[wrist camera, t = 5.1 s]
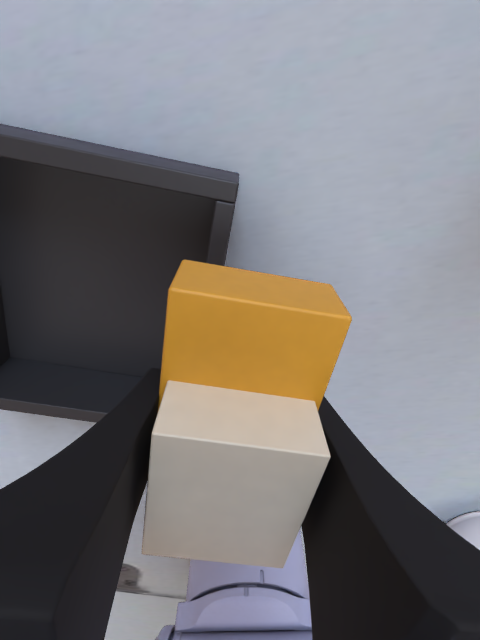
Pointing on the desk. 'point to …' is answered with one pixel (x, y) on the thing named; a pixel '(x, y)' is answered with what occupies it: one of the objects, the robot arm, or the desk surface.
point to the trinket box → (467, 527)
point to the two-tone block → (239, 413)
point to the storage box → (94, 265)
